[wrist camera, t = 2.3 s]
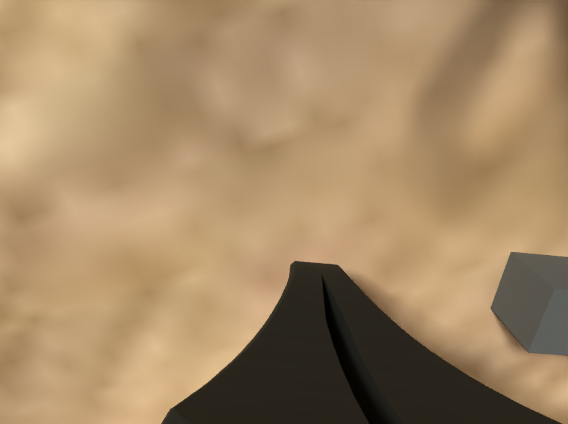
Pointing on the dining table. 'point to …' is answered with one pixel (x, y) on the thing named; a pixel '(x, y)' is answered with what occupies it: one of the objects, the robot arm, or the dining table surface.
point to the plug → (535, 302)
